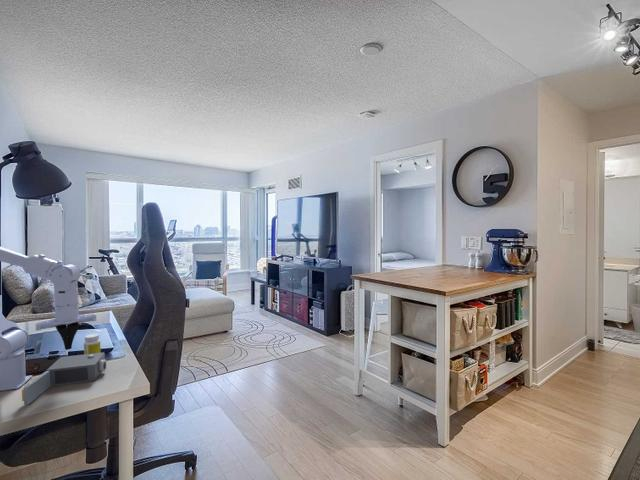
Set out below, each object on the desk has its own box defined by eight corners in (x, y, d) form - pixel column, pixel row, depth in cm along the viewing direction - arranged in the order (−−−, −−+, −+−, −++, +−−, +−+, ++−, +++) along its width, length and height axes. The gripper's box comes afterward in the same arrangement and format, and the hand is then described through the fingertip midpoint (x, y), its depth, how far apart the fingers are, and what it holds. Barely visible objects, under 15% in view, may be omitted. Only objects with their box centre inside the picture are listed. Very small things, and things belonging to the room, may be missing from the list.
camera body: (46, 387, 96) (46, 368, 96) (61, 372, 105) (60, 355, 105) (100, 380, 100) (100, 362, 100) (109, 366, 110) (109, 350, 109)
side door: (44, 386, 95) (43, 371, 95) (50, 386, 96) (50, 370, 96) (21, 404, 86) (20, 387, 86) (28, 404, 86) (27, 387, 86)
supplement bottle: (103, 356, 118) (103, 333, 118) (93, 362, 113) (92, 338, 113) (91, 356, 118) (90, 333, 118) (80, 361, 114) (80, 337, 113)
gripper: (36, 311, 92) (37, 359, 93) (97, 302, 102) (99, 345, 103) (34, 306, 97) (35, 352, 98) (93, 299, 107) (94, 340, 108)
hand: (68, 348), depth 101 cm, fingers closed
